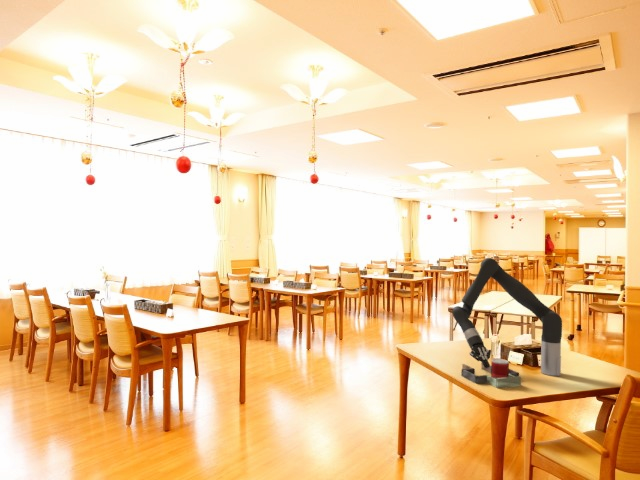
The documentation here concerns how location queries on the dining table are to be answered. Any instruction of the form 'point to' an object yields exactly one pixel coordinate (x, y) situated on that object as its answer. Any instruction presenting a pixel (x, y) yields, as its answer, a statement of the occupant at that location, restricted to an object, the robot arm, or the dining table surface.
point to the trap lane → (498, 382)
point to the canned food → (499, 368)
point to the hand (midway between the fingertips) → (487, 367)
